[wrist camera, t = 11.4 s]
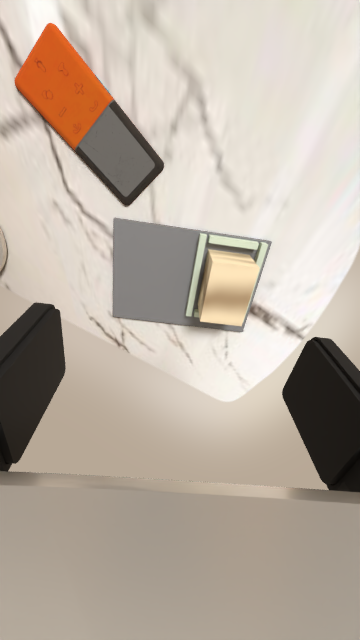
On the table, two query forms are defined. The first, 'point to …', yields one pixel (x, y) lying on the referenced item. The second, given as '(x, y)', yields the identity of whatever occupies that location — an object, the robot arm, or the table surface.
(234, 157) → the table surface
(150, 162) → the phone
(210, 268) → the card box
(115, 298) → the mat
